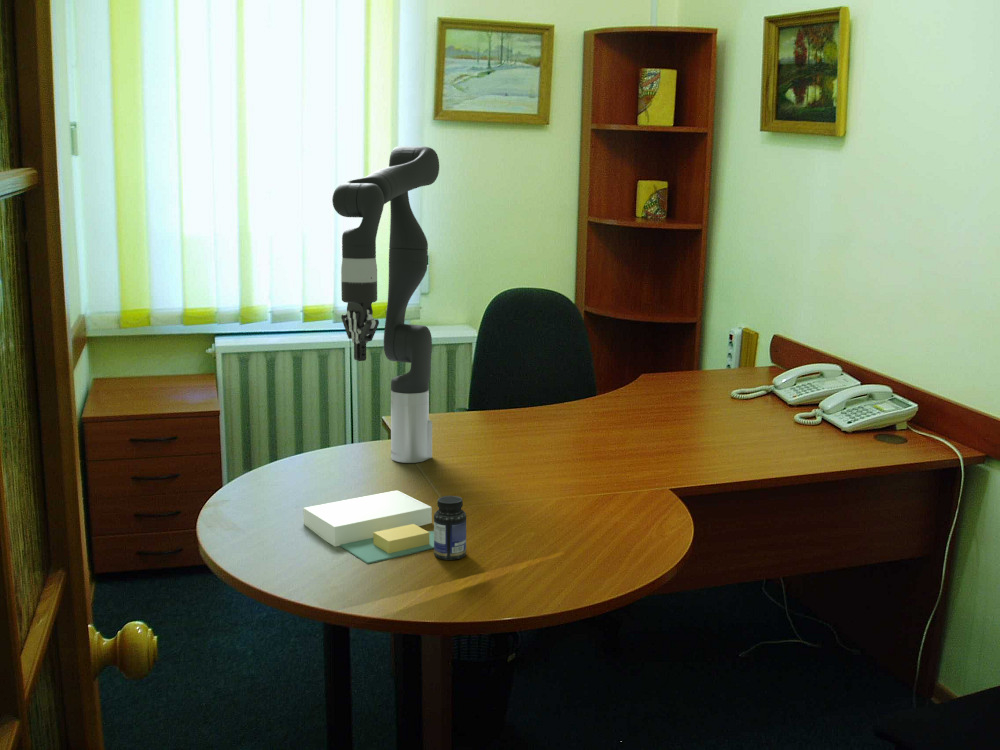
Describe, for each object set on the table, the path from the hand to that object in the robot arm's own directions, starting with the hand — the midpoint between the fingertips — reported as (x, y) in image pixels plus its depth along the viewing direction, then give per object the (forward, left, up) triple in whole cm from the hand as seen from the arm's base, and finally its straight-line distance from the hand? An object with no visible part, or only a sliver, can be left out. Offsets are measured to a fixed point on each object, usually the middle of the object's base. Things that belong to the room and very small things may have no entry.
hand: (360, 360), depth 205 cm
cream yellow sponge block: (+6, +28, -29) cm, 41 cm away
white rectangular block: (+6, +14, -32) cm, 35 cm away
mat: (+6, +27, -32) cm, 42 cm away
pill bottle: (+1, +37, -32) cm, 49 cm away
